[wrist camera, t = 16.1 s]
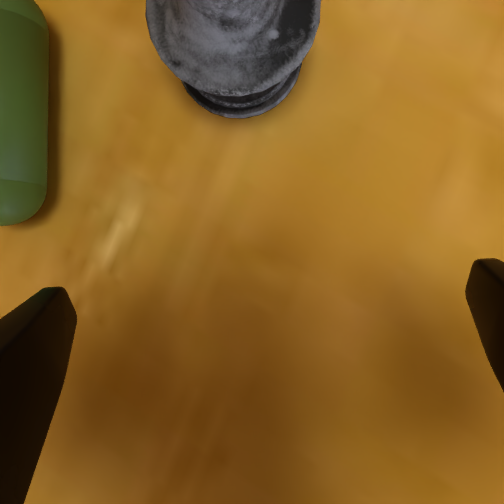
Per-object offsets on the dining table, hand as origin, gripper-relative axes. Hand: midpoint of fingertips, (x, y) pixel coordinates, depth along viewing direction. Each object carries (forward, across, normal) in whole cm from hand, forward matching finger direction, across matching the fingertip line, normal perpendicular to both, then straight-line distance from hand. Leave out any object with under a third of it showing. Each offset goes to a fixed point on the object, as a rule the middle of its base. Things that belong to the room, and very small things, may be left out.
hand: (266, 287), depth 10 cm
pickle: (+11, +10, -1) cm, 15 cm away
